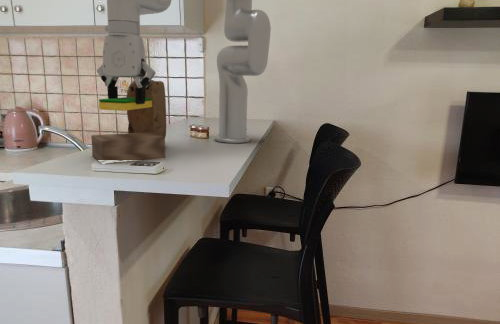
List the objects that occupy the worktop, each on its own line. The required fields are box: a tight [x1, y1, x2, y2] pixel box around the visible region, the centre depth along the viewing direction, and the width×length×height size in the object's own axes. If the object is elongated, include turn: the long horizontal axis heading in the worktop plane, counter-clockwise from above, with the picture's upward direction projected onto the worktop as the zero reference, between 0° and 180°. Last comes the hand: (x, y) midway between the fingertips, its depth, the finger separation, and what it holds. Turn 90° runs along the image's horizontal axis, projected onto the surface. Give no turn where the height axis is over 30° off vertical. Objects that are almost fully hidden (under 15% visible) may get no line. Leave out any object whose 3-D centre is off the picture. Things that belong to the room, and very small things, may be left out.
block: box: [126, 79, 167, 138], centre depth 114 cm, size 11×8×20 cm
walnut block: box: [91, 132, 166, 161], centre depth 101 cm, size 16×10×6 cm, turn 125°
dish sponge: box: [98, 96, 152, 112], centre depth 98 cm, size 7×14×2 cm, turn 166°
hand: (126, 102), depth 98 cm, fingers closed on dish sponge, 7 cm apart
